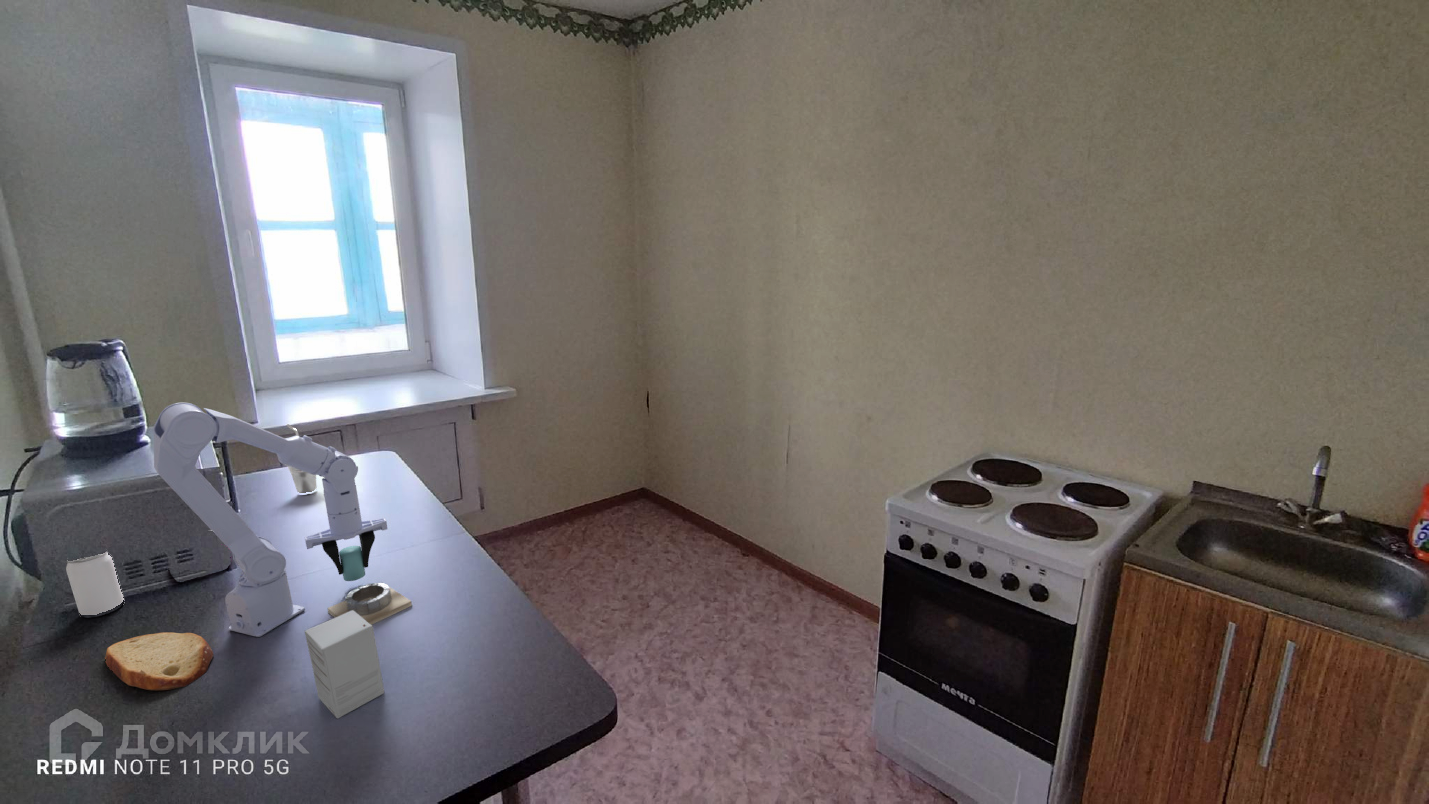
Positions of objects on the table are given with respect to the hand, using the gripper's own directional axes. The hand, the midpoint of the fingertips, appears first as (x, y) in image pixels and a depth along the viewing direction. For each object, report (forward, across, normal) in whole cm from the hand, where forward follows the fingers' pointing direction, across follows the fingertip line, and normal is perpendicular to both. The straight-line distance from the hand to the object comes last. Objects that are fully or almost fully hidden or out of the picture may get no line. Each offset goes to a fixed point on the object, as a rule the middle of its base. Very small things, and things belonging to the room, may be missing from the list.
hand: (353, 568), depth 130 cm
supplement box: (+4, -6, -37) cm, 38 cm away
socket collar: (+4, +1, -12) cm, 12 cm away
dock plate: (+4, +1, -12) cm, 12 cm away
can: (+4, -41, +21) cm, 47 cm away
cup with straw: (+4, -3, +66) cm, 66 cm away
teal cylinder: (+2, 0, 0) cm, 2 cm away
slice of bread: (+5, -32, -7) cm, 33 cm away
